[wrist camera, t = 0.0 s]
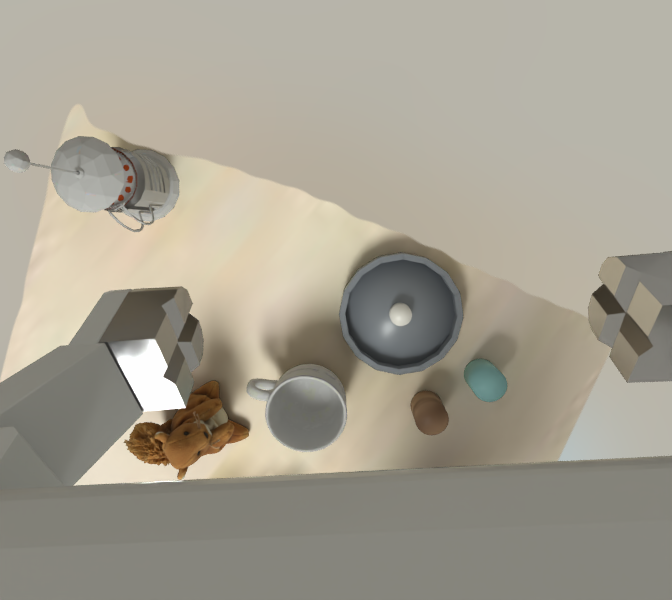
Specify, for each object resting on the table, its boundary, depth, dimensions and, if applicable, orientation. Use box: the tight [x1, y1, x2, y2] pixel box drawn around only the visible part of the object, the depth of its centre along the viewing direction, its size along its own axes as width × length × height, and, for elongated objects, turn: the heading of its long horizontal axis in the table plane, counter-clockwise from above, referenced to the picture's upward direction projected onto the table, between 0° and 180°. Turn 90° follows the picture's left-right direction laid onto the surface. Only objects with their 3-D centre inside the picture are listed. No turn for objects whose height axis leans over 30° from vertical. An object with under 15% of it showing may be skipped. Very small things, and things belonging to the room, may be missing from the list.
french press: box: [4, 136, 179, 232], centre depth 50 cm, size 10×12×25 cm
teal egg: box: [464, 359, 507, 402], centre depth 63 cm, size 4×4×5 cm
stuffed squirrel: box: [124, 381, 249, 480], centre depth 62 cm, size 10×14×13 cm
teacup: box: [247, 364, 347, 452], centre depth 63 cm, size 14×11×8 cm
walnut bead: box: [411, 391, 449, 435], centre depth 64 cm, size 4×4×5 cm
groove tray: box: [339, 252, 463, 375], centre depth 63 cm, size 17×17×2 cm
